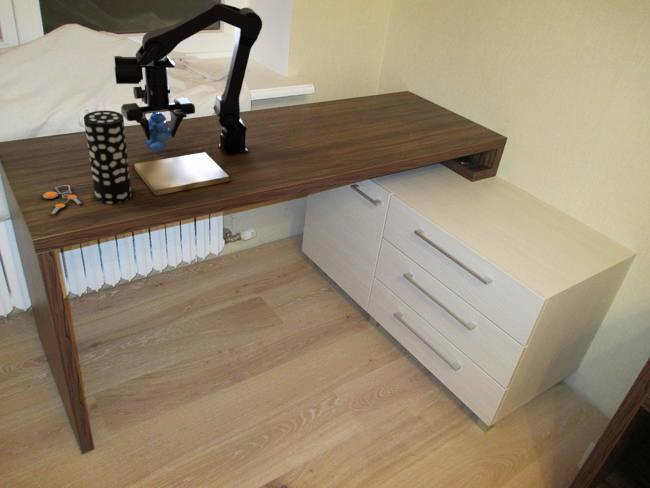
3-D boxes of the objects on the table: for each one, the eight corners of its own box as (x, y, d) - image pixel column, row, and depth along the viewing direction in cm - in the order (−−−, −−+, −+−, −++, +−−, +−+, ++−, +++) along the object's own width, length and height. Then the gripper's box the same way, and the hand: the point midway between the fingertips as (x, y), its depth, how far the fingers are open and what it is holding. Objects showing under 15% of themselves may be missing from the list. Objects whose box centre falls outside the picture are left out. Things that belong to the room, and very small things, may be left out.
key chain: (40, 190, 131) (40, 187, 131) (73, 185, 135) (73, 182, 134) (49, 215, 122) (49, 212, 122) (84, 209, 126) (83, 206, 125)
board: (204, 157, 156) (204, 152, 155) (229, 181, 145) (229, 176, 144) (134, 168, 145) (134, 163, 145) (155, 195, 135) (155, 190, 134)
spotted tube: (100, 186, 136) (89, 109, 125) (134, 188, 137) (127, 111, 126) (91, 203, 129) (78, 123, 118) (127, 204, 130) (118, 125, 119)
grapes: (176, 161, 153) (183, 120, 147) (153, 160, 149) (158, 118, 143) (161, 144, 160) (166, 105, 155) (138, 143, 156) (143, 103, 151)
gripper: (179, 71, 154) (181, 123, 163) (112, 76, 145) (118, 132, 153) (195, 83, 147) (196, 137, 155) (125, 90, 137) (130, 147, 146)
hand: (160, 138), depth 153 cm, fingers closed on grapes, 6 cm apart
